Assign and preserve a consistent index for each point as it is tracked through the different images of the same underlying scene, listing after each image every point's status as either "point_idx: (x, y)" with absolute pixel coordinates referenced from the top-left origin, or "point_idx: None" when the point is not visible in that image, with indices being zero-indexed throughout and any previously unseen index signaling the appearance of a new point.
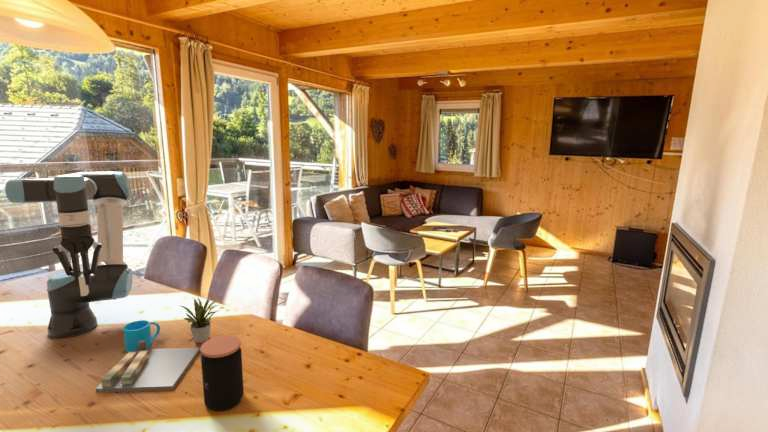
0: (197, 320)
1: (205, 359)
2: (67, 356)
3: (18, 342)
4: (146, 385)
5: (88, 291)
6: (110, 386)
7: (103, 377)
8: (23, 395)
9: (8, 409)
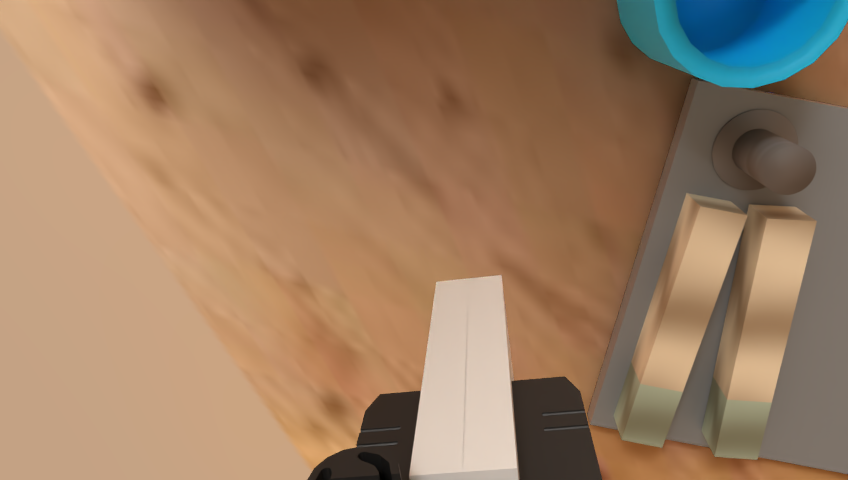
0: None
1: None
2: (296, 29)
3: None
4: (811, 456)
5: (504, 302)
6: None
7: (628, 429)
8: (289, 356)
9: (291, 433)
